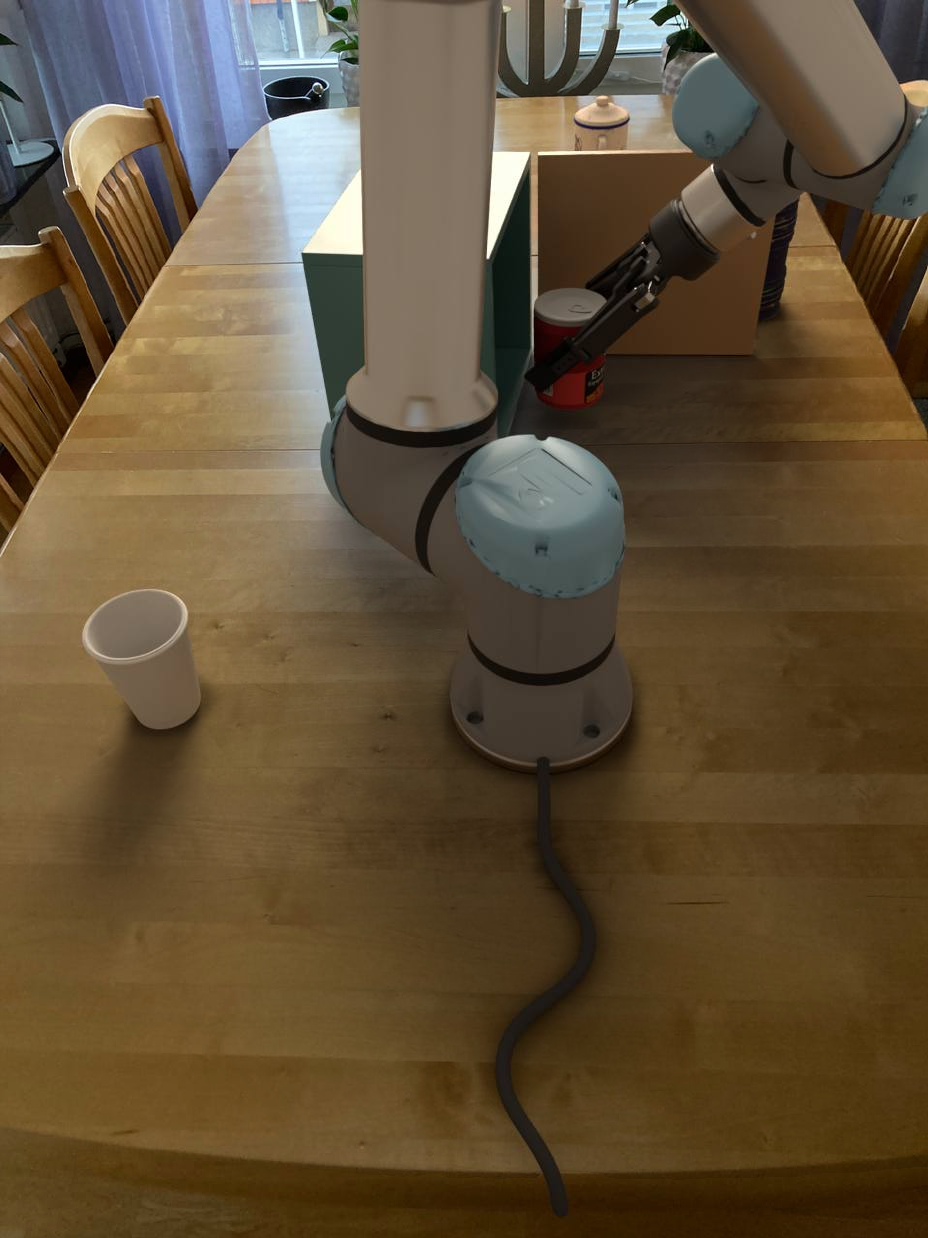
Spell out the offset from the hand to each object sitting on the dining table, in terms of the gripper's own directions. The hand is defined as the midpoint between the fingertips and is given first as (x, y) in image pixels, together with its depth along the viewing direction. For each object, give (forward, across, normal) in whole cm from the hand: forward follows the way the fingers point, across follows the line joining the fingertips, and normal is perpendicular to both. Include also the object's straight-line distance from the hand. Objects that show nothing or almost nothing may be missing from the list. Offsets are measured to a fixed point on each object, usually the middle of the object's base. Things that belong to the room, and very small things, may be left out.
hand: (538, 363), depth 109 cm
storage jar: (-12, +28, -21) cm, 37 cm away
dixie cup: (+23, -49, +13) cm, 56 cm away
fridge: (+13, 0, +4) cm, 13 cm away
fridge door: (-3, +17, -12) cm, 21 cm away
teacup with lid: (+4, +72, -4) cm, 72 cm away
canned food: (0, 0, -5) cm, 5 cm away
